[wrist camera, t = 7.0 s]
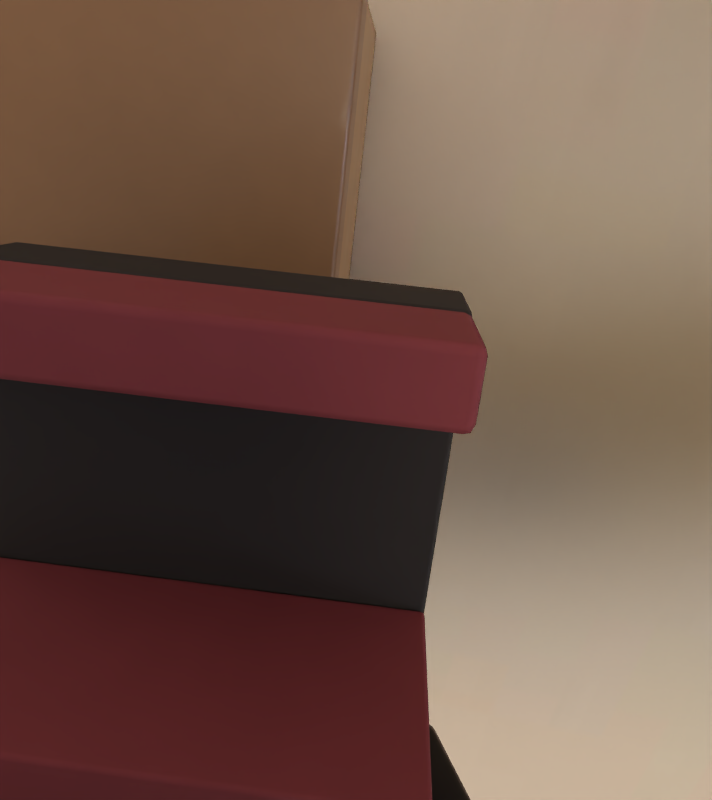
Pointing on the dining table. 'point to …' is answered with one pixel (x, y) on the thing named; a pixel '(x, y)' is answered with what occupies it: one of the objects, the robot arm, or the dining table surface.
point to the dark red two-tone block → (220, 526)
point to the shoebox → (186, 128)
